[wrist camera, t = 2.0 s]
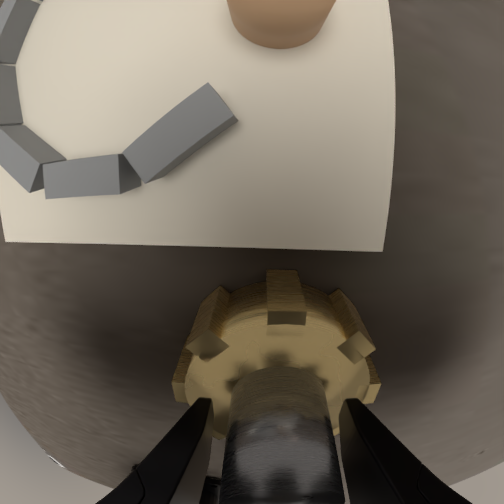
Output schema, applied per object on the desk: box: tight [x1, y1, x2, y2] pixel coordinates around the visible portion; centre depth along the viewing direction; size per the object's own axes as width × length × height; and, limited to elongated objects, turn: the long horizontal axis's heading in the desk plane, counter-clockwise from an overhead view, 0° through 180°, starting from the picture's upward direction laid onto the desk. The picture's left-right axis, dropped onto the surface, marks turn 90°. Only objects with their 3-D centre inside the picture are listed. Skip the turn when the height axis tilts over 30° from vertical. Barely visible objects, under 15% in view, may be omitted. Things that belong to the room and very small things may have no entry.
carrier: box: [0, 0, 395, 252], centre depth 5 cm, size 14×14×4 cm
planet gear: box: [172, 269, 381, 504], centre depth 8 cm, size 7×7×7 cm
